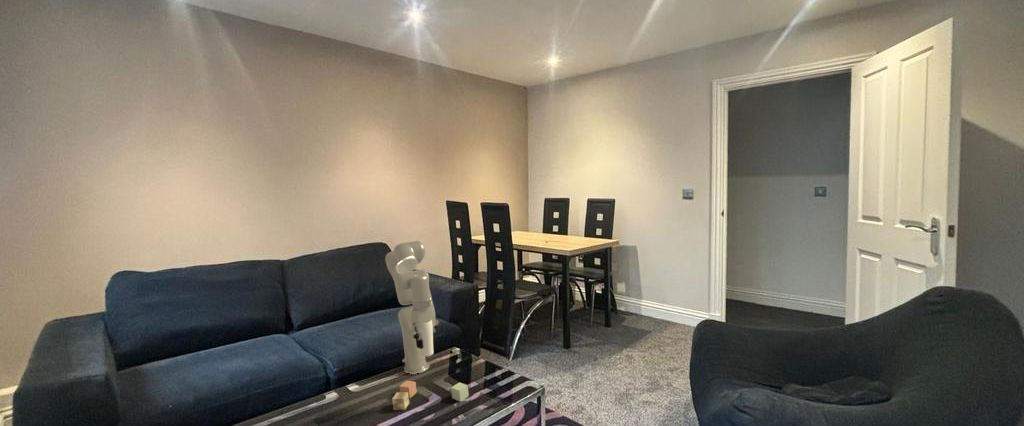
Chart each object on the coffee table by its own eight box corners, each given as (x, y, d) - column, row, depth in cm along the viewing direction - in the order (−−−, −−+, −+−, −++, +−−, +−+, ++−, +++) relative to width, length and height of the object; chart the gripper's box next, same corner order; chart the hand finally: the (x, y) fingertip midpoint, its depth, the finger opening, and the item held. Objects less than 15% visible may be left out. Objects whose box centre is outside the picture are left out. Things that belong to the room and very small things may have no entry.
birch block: (393, 410, 188) (392, 398, 187) (398, 403, 193) (396, 392, 192) (405, 410, 187) (403, 398, 187) (409, 403, 192) (408, 392, 191)
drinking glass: (420, 351, 195) (416, 318, 193) (436, 350, 195) (432, 316, 193) (418, 358, 188) (414, 324, 186) (434, 357, 189) (431, 322, 187)
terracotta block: (400, 396, 198) (399, 386, 197) (407, 390, 203) (406, 380, 202) (410, 398, 196) (408, 387, 195) (416, 392, 201) (415, 381, 200)
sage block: (452, 398, 193) (451, 387, 192) (460, 393, 197) (459, 382, 196) (460, 401, 190) (459, 390, 189) (468, 396, 194) (467, 385, 193)
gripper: (431, 296, 198) (435, 335, 200) (399, 309, 184) (404, 350, 187) (443, 298, 193) (447, 338, 196) (411, 312, 180) (416, 354, 182)
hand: (426, 344), depth 191 cm, fingers closed on drinking glass, 6 cm apart
